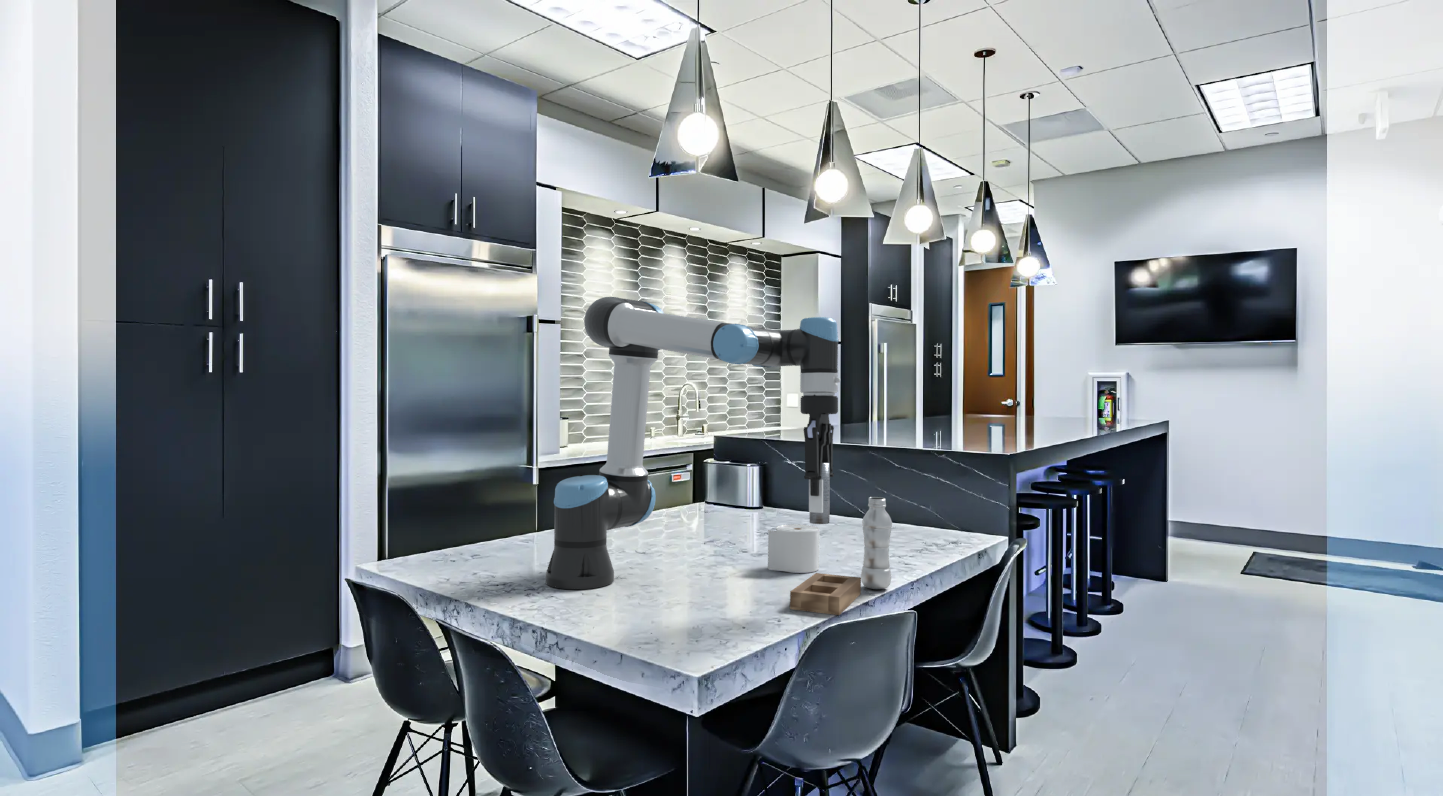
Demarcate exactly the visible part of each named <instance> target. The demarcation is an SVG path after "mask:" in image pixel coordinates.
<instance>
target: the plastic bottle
mask: <svg viewBox="0 0 1443 796" xmlns="http://www.w3.org/2000/svg"><path fill="white" fill-rule="evenodd" d="M886 501H887V500H886V498H885V497H881V496H879V497H878V496H870V497H868V504H867V507H868V510H867V511H866V512H865V514H864V516H863V517H862V521H861V525H862V531H863V533H862V534H863V545H864V548H863V550H864V553H863V560H862V562H863V563H862V568H861V572H860V578H861V584H862V585H863V587H865V588H868V589H873V590H885V589H888V588H889V587H890V585H891V584H892V583H891V582H892V572H891V567H890V566H891V565H890V564H891V563H890V539H891V534H892V527H893V521H892V518H891V516H890V514H889V513H888V512H887V511H886V507H887V503H886Z"/></svg>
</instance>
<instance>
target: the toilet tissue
mask: <svg viewBox="0 0 1443 796" xmlns="http://www.w3.org/2000/svg"><path fill="white" fill-rule="evenodd" d="M767 532H768V534H767V535H768V539H767V540H768V541H767V546H768V547H767V569H768V570H770V571H781V572H786V573H792V574H793V573H794V574H795V573H796V574H799V573H800V574H805V573H808V574H809V573H814V572H818V571H819V569H820V528H819V527H818V526H814V525H807V524H794V523H793V524H792V523H791V524H781V525H779V526H776V527H775V530H768V531H767Z"/></svg>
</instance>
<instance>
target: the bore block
mask: <svg viewBox="0 0 1443 796" xmlns="http://www.w3.org/2000/svg"><path fill="white" fill-rule="evenodd" d="M861 592H862V581H861V576H860V577H858V576H849V575H840V574H839V575H838V574H829V573H821V572H815V573H814V574H813V575H811V576H810V577H809V578H806V580H804V581H803V582H801V583H800V584H798V585H797V586H796V587H795V588H793V589H792V590H791V591H790V593H789V598H790V599H789V610H793V611H794V610H795V611H803V612H811V613H817V614H825V615H826V614H827V615H833V616H840V615H842V613H843V612H844V611H845V610H846V609H848V607H849V606H850V605H851V604H852V603H853V602H854V601H855V600H856V599H857V598H858V597H860V595H862V593H861Z"/></svg>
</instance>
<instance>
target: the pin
mask: <svg viewBox="0 0 1443 796" xmlns="http://www.w3.org/2000/svg"><path fill="white" fill-rule="evenodd" d="M821 476H822V478H821V480H823V513H816V512H809V524H813V525H814V524H815V525H827V524H828V525H829V524H830V523H831V522H830V521H831V520H830V518H831V517H830V508H831V507H830V505H831V504H830V503H831V501H830V497H831V496H830V493H829V463H826V462H822V475H821Z"/></svg>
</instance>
